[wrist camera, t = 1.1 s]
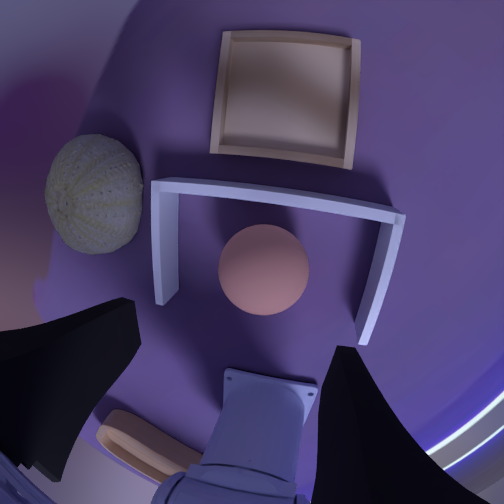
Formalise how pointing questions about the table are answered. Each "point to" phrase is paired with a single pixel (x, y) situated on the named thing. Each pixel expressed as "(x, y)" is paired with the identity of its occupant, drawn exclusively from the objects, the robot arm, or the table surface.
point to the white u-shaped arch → (169, 189)
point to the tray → (287, 96)
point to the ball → (263, 269)
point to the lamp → (145, 446)
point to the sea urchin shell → (95, 194)
